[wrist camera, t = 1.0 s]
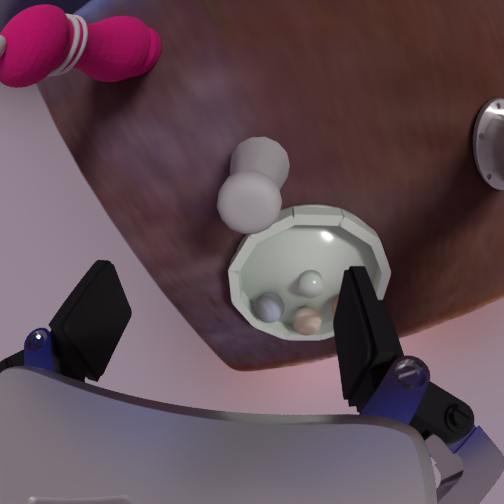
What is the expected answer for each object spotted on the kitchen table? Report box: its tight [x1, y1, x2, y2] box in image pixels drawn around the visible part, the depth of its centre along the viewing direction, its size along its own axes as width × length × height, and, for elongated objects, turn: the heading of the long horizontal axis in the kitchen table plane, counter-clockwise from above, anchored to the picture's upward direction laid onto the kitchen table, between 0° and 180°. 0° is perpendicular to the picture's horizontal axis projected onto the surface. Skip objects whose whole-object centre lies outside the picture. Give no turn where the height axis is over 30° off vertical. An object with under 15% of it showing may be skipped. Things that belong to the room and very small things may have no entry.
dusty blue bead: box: [254, 293, 285, 323], centre depth 35 cm, size 4×4×4 cm
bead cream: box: [292, 307, 321, 336], centre depth 36 cm, size 4×4×4 cm
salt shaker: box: [217, 137, 290, 234], centre depth 23 cm, size 6×6×13 cm
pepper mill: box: [0, 5, 162, 88], centre depth 13 cm, size 7×7×20 cm
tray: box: [228, 204, 391, 340], centre depth 34 cm, size 20×20×3 cm
